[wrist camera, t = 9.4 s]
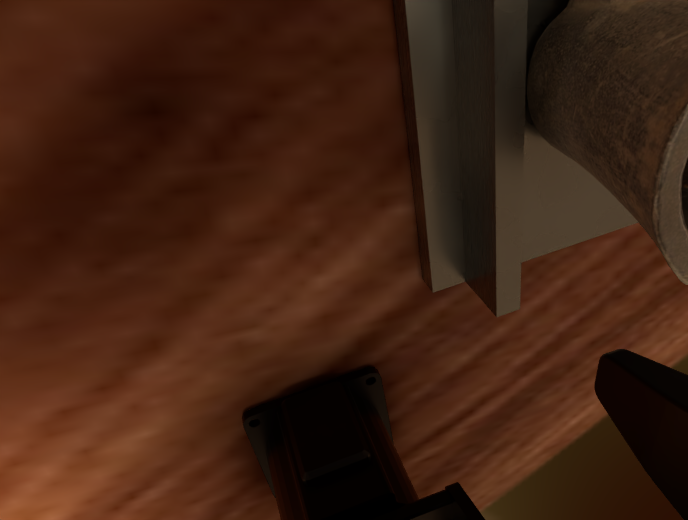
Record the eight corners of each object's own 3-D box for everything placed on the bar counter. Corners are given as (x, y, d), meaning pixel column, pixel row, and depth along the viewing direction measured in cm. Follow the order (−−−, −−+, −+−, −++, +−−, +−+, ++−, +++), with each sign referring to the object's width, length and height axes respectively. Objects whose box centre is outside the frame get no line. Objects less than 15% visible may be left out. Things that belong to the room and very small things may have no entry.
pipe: (717, -271, 15) (1153, -407, 8) (613, 164, 22) (808, 269, 16) (520, -273, 14) (861, -437, 7) (477, 191, 21) (628, 318, 14)
